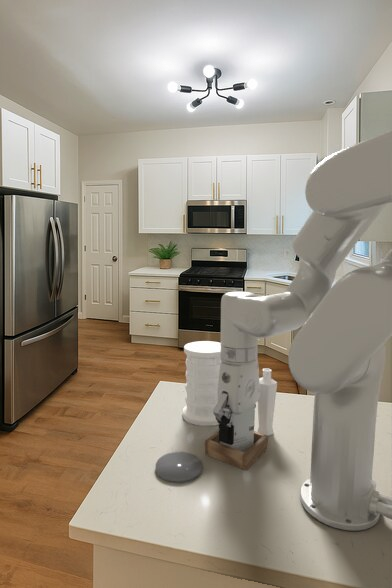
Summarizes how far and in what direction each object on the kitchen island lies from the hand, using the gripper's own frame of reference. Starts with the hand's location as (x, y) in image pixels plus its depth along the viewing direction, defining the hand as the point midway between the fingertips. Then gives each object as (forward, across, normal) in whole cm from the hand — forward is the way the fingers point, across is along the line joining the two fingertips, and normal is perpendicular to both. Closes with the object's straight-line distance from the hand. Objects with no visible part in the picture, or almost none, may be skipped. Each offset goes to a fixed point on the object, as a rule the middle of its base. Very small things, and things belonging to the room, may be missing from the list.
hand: (237, 433), depth 79 cm
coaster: (+4, -12, +6) cm, 14 cm away
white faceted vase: (+4, +11, -1) cm, 12 cm away
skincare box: (+4, 0, 0) cm, 4 cm away
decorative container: (+4, +10, +15) cm, 19 cm away
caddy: (+4, 0, 0) cm, 4 cm away
